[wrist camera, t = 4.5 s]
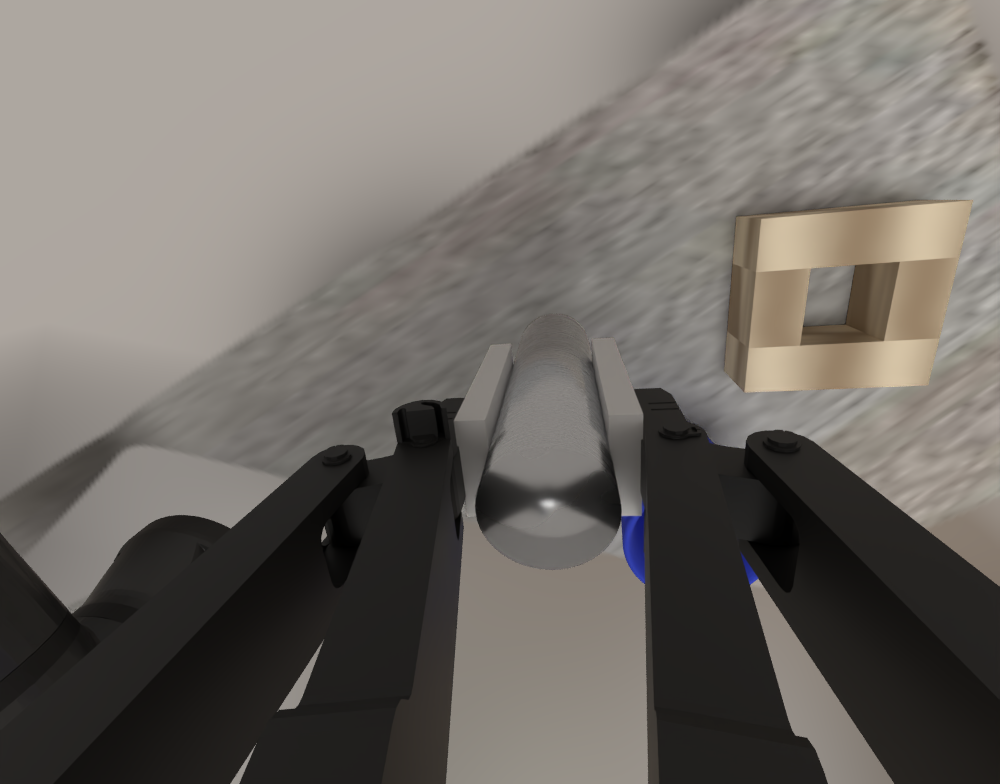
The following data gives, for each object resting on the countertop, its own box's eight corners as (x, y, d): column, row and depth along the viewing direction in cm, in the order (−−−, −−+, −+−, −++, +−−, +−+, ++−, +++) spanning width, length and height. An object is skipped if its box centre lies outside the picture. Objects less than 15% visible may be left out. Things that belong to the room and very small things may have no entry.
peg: (522, 381, 22) (482, 569, 11) (517, 315, 21) (467, 448, 10) (589, 378, 21) (621, 570, 10) (588, 311, 20) (622, 445, 9)
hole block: (724, 371, 33) (744, 392, 29) (736, 216, 29) (761, 219, 26) (885, 363, 31) (928, 385, 28) (918, 200, 28) (973, 200, 24)
